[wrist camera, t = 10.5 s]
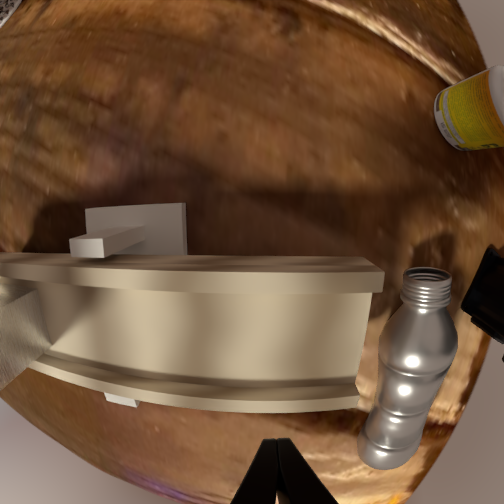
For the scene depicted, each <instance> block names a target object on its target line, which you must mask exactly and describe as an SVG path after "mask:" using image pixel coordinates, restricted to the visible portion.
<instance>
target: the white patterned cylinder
mask: <svg viewBox="0 0 504 504" xmlns="http://www.w3.org/2000/svg"><path fill="white" fill-rule="evenodd" d="M21 1H22V0H0V28H1V27H2V26H3V25H4V24H5V23H6V22H7V20H8V19H9V18H10V17H11V16H12V14H13V13H14V12H15V10H16V9H17V7H18V6H19V4H20V3H21Z"/></svg>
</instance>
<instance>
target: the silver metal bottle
mask: <svg viewBox="0 0 504 504" xmlns="http://www.w3.org/2000/svg"><path fill="white" fill-rule="evenodd" d="M451 283H452V275H451V274H450V273H449V272H447V271H445V270H442V269H439V268H433V267H413V268H409V269H406V270H405V271H404V274H403V284H402V289H401V294H400V298H401V300H402V301H403V302H404V303H403V305H402V306H401V307H400V308H399V309H398V310H397V311H396V312H395V313H394V314H393V315H392V317H391V318H390V319H389V320H388V322H387V323H386V324H385V326H384V328H383V330H382V333H381V335H380V337H379V347H378V352H379V353H378V381H377V388H376V394H375V400H374V403H373V406H372V408H371V411H370V414H369V416H368V419H367V420H366V422H365V423H364V425H363V427H362V429H361V431H360V433H359V435H358V439H357V452H358V456H359V457H360V459H361V460H362V461H363V462H364V463H365V464H366V465H368V466H370V467H372V468H374V469H379V470H388V469H394V468H397V467H399V466H401V465H403V464H405V463H406V462H407V461H408V460H409V459H410V458H411V457H412V456H413V455H414V453H415V452H416V451H417V449H418V447H419V444H420V441H421V437H422V432H423V428H424V425H425V422H426V419H427V415H428V412H429V409H430V407H431V405H432V403H433V401H434V399H435V396H436V394H437V392H438V389H439V387H440V385H441V384H442V382H443V380H444V378H445V376H446V374H447V372H448V370H449V368H450V366H451V364H452V362H453V359H454V357H455V354H456V351H457V348H458V336H457V331H456V328H455V325H454V322H453V320H452V318H451V316H450V314H449V312H448V310H447V309H446V306H447V305H448V304H449V303H450V301H451V293H450V292H451Z"/></svg>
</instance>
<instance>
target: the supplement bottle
mask: <svg viewBox="0 0 504 504" xmlns="http://www.w3.org/2000/svg"><path fill="white" fill-rule="evenodd" d="M434 115H435V119H436V123H437V125H438V128H439V130H440V132H441V133H442V135H443V136H444V138H445V139H446V140H447V141H448V142H449V143H450V144H451V145H452V146H453V147H455V148H457V149H459V150H462V151H471V150H479V149H487V148H496V147H504V66H502V65H497V66H493V67H491V68H489V69H487V70H484V71H482V72H480V73H478V74H476V75H473V76H471V77H469V78H467V79H465V80H463V81H460V82H458V83H456V84H454V85H452V86H450V87H448V88H446V89H444V90H442V91H441V92H440V93H439V94H438V95H437V97H436V99H435V103H434Z"/></svg>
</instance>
